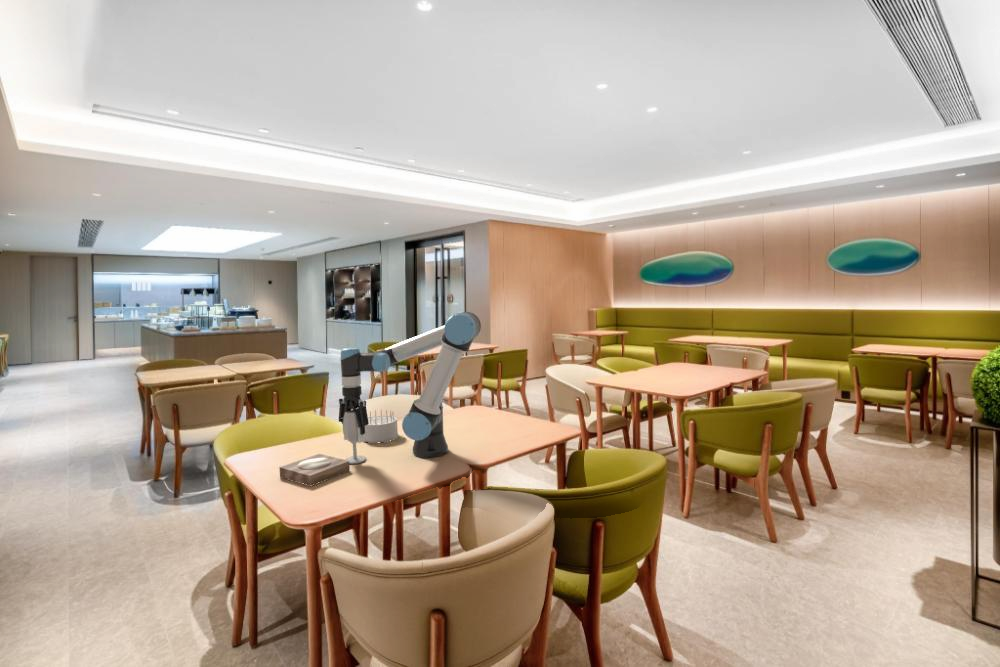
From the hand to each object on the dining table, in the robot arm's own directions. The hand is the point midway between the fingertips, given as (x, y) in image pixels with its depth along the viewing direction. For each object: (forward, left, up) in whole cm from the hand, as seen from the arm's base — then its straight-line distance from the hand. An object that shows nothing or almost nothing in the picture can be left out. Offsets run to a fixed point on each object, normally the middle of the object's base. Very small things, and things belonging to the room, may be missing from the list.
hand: (354, 440), depth 207 cm
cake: (+16, -29, -9) cm, 34 cm away
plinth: (+2, +18, -9) cm, 20 cm away
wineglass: (0, 0, -9) cm, 9 cm away
